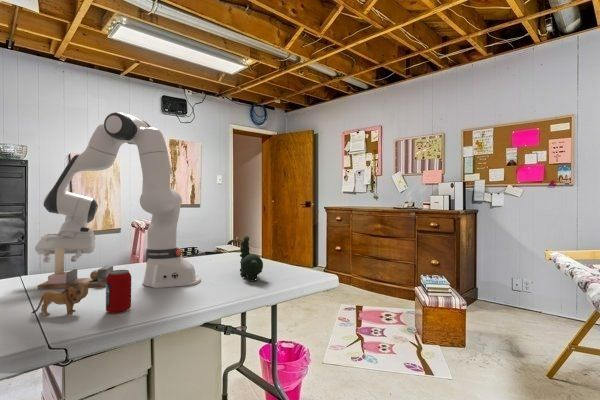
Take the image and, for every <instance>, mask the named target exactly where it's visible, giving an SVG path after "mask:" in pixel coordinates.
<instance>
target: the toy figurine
mask: <svg viewBox="0 0 600 400" xmlns="http://www.w3.org/2000/svg"><path fill="white" fill-rule="evenodd" d="M242 240H243V241H242V242H241V243H240V245H241V247H240V248H239V250H240V251H241V253H240V254H239V257H240V262H239V263H240V268H239V272H240V274H239V275H240V276H241V277H242V278H243V277H244V278H246V279H247V281H249V280H255V279H257V280H258V277H259V275H260V274H261V273H263V268H264V263H263V260H262V258H261V257H260V256H259V255H257V254H251V252H250V250H251V249H250V247H249V246H250V242H249V241H250V237H249V236H248V235H245V236H243V239H242ZM257 275H258V276H257Z"/></svg>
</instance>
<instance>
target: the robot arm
mask: <svg viewBox="0 0 600 400" xmlns="http://www.w3.org/2000/svg"><path fill="white" fill-rule="evenodd" d="M161 131H162V130H160V129H158V128H157V127H156V128H155V127H152V126H151V125H150V124H149V123H148V122H146V121H144V120H141V119H139V118H138V117H136V116H133V115H131V114H126V113H124V112H112V113H111V112H110V113H109V114H108V115H107V116H106V117H105V119H104V122H103V124H99V125H98V126H97V127H96V128H95V130H94V132H93V133H92V135H91V137H90V138H89V141H88V144H87V146H86V148H85V150H84V151H82V153H79V154H75V155H73V157H71V159H70V160H69V162H68V164H67V165H66V166H65V167H64V169H63V171H62V172H61V174H60V176H59V177H58V179H57V181H56V182H55V184H54V185H53V187H52V188H51V189H50V191H49V192H48V193H47V194H46V195H45V197H44V199H43V207H44V208H45V210H46V211H47V212H48V213H50V214H56V215H62V216H65V217H64V222H63V223H62V224H61V226H60V228H59V231H58V233H47V234H45V235H43V236H41V237H40V239H39V241H38V242H37V244H36V245H35V247H34V250H35V252H36V253H37V255H39V256H40V255H41V256H42V255H43V256H44V257H43V262H44V263H45V264H46V263H50V261H51V258H50V255H55V248H64V255H70V254H71V257H70V261H71V262H72V263H73V262H74V263H76V262H77V260H78V259H79V258H81V256H83V254H91V253H93V252H94V251H95V248H96V241H95V240H96V236H95V233H94V230H93V229H92V228H90V227H87V226H88V225H89V223H90V222H92V221H93V220H94V219H95V216H96V213H97V211H98V208H99V205H98V203H97V201H96V200H95V199H94V198H93V197H89V196H86V195H81V194H77V193H74V192H70V191H67V187H68V186H69V185H70V182H71V181H72V180H73V177H74V176H75V175H76V174H77V173H80V172H87V171H89V172H91V171H93V172H96V171H97V172H98V171H104V170H108V169H109V168H110V167H112V166H113V165H114V162H115V161H116V158H117V155H118V154H119V150H120V148H121V146H122V145H123V144H126V143H127V144H129V145H135V146H136V147H137V150H138V151H137V152H138V156H139V162H140V169H141V173H142V186H141V187H142V188H141V189H142V191H141V195H140V197H139V204H140V205H139V206H140V208H141V209H142V210H143V211H144V212H146V213H149V214H150V215H151V218H150V223H149V226H148V227H147V239H146V240H147V241H146V243H147V244H146V249H145V263H146V264H145V271H144V277H143V280H142V283H141V284H142V285H143V286H145V287H146V286H147V287H151V288H154V289H161V288H172V287H184V286H195V285H197V284H200V283H201V281H202V279H201V276H199V275H197V274H196V270H195V267H194V265H193V263H191V262H189V261H188V260H187V259H185V258H184V257H183V256H182V248H179V247H178V246H177V233H178V232H177V231H178V230H177V228H178V222H179V217H180V212H181V207H182V203H183V198H182V196H181V195H180V193H179V192H178V191H176V190H175V189H173V188H171V175H172V168H171V167H172V166H171V161H170V157H169V151H168V148H167V147H168V146H167V144H166V140H165V138H164V135H163V133H162V132H161ZM72 254H73V255H72Z"/></svg>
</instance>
